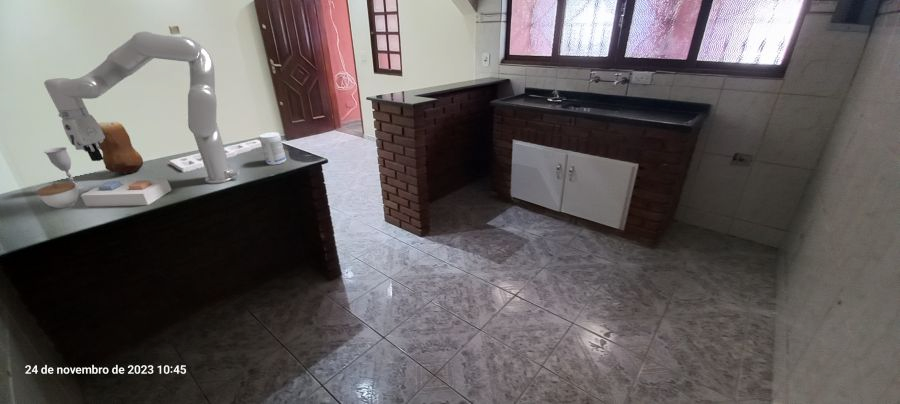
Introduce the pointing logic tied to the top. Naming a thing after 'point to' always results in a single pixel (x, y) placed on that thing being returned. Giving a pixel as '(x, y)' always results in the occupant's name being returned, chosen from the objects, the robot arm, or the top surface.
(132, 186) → the terracotta key
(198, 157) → the holder
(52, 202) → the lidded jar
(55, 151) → the chalice
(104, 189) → the slate-blue key
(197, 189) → the top surface
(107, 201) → the key panel
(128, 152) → the butternut squash
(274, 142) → the supplement tub
